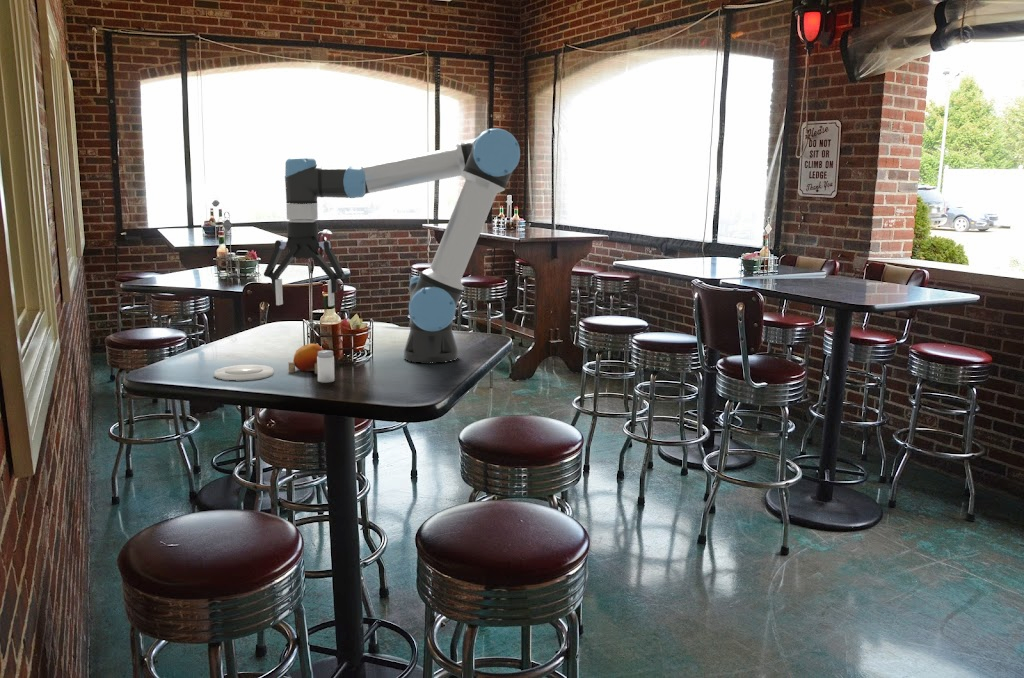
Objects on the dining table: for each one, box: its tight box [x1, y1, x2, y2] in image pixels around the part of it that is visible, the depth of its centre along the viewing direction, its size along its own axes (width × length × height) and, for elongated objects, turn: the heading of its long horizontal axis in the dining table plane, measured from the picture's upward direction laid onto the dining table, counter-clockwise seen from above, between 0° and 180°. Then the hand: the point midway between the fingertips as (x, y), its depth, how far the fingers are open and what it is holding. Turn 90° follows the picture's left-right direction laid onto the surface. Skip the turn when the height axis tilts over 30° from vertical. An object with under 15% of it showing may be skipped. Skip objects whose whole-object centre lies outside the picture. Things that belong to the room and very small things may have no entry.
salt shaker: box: [317, 349, 335, 383], centre depth 197 cm, size 4×4×7 cm
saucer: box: [214, 364, 274, 382], centre depth 203 cm, size 14×14×1 cm
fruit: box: [292, 343, 324, 373], centre depth 209 cm, size 8×8×8 cm
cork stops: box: [288, 361, 318, 375], centre depth 209 cm, size 8×8×2 cm
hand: (305, 305), depth 207 cm, fingers open, 13 cm apart
